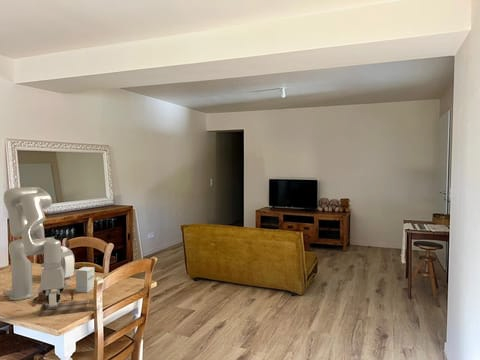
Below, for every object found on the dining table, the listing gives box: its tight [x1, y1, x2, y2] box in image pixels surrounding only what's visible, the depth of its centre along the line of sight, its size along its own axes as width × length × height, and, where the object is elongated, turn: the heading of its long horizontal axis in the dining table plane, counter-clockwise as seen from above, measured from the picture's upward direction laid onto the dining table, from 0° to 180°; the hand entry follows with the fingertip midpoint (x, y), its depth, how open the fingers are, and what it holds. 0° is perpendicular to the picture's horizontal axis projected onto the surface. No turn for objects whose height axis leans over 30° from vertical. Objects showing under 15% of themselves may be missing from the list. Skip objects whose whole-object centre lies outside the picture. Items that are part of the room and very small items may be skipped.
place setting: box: [29, 289, 76, 307], centre depth 185 cm, size 18×20×6 cm
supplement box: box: [75, 266, 96, 294], centre depth 201 cm, size 7×7×13 cm
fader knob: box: [48, 289, 60, 310], centre depth 172 cm, size 4×7×7 cm, turn 18°
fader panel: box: [38, 298, 95, 318], centre depth 175 cm, size 26×10×4 cm, turn 108°
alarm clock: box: [61, 245, 75, 281], centre depth 223 cm, size 18×8×20 cm, turn 59°
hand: (53, 301), depth 172 cm, fingers closed on fader knob, 3 cm apart
